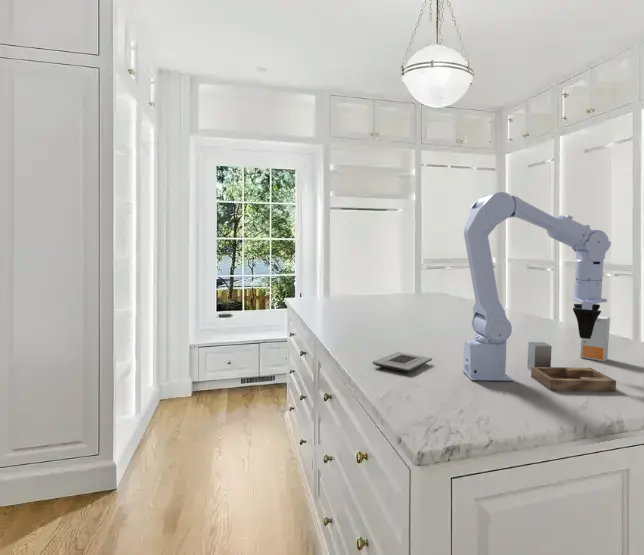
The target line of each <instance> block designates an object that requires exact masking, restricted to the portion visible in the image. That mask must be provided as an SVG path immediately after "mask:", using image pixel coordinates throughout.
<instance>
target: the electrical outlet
mask: <svg viewBox="0 0 644 555" xmlns="http://www.w3.org/2000/svg"><path fill="white" fill-rule="evenodd" d="M432 360H433V357H427V356H422V355H417V354H410V353H405V352H402V351H401V352H400V351H397V352H395V353H392V354H389V355H387V356H386V355H385V357H382V358H379V359H376V360H374V361H372V364H373V365H375V366H376V367H382V368H386V369H391V370H395V371H400V372H405V373H409V372H410V371H413V370H414V369H416V368H419V367H421V366H423V365H425V364H427V363H430V362H431V361H432Z"/></svg>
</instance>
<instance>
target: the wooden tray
mask: <svg viewBox="0 0 644 555" xmlns="http://www.w3.org/2000/svg"><path fill="white" fill-rule="evenodd" d="M530 377H531V378H532V379H534V380H535V381H536V380H537V382H538V383H539V384H540V383H541V384H540V385H542V386H543V385H544V386H543V387H544V388H546V387H547V388H548V390H549V391H550V390H559V391H558V392H564V391H563V390H583V391H582V392H616V389H617V380H615V379H614V378H611V377H609V376H607V375H605V373H602V372H600V371H597V370H596V369H594V368H592V367H568V366H566V367H561V366H560V367H557V366H556V367H553V366H551V367H531V371H530ZM547 388H546V389H547Z"/></svg>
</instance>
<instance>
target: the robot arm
mask: <svg viewBox="0 0 644 555" xmlns="http://www.w3.org/2000/svg"><path fill="white" fill-rule="evenodd" d="M508 218H516V219H519V220H522V221H525V222H527V223H529V224H533V225H535V226H537V227H540V228H542V229H544V230H546V233H547V236H548V237H549V238H551V239H553V240H555V241H558V242H560V243H562V244H564V245H566V246H568V247H570V248H571V249H572V250H573V252H574V253H575V272H574V283H573V285H574V287H573V288H574V289H573V297H572V301H574V302H576V303H573V308H572V311H573V313H574V315H575V317H576V321H577V327H578V334H579V338H580V339H581V338H586V339H590V338H591V336H592V332H593V328H594V324H595V322H596V319H597V318H598V316H601V313H602V310H599V309H600V308H601V305H600V304H601V303H607V302H608V299H607V298H603V297H602V292H603V291H602V290H603V289H602V288H603V278H604V277H603V275H604V274H603V273H604V261H605V258H606V253H607V252H608V251H609V250H610V248H611V246H612V242H611V241H610V240H609V237H608V235H607V233H606V232H604V231H603V230H601V229H600V230H599V229H591V226H590V225H589V224H585V223H584V224H582V223H580V222H578V221H576V220H574V217H573V216H571V215H570V214H568V215H566V214H565V215H561V214H560V215H558V216H556V217H555V216H552V215H550V214H549V213H548V212H546V211H543V210H542V209H539V208H538V207H536V206H534V205H533V204H530V203H528V202H526V201H525V200H523V199H521V198H520V197H518V196H515V195H511V194H509V193H507V192H504V191H499V192H495V193H493V194H489V195H483V196H481V197H479V198H477V200H476V201H475V202H474V203H473V204H472V205H471V206H470V209H469V215H468V218H467V220H466V224H465V226H464V228H463V236H464V243H465V248H466V253H467V259H468V266H469V271H470V276H471V284H472V287H473V294H474V299H475V303H474V305H473V307H472V310H473V312H472V313H473V316H472V319H471V327H472V329H473V331H474V332H475V335H474V339H471V340H470V339H469V340H466V341H465V342H464V346H463V369H462V371H463V373H464V374H465V375H466V376H467V377H468V378H469V379H470V380H471V381H501V382H502V381H503V382H505V381H507V382H511V381H513V380H512V377H510V376H509V375H508V374H506V370H507V369H506V368H507V366H506V365H507V364H506V363H507V340H508V339H509V338H510V336H511V335H512V333H513V332H512V330H513V329H512V328H513V326H512V323H511V322H510V320H509V319H508V318H507V316H506V315H507V314H506V311H505V309H504V306H503V305H502V304H501V302H500V298H499V293H498V286H497V282H496V276H495V275H496V274H495V270H494V264H493V259H492V252H491V246H490V240H489V235H490V234H491V233H492V231H494V229H496V227H497V225H499V224H501V223H502V222H504V221H505V220H507V219H508Z"/></svg>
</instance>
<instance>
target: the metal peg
mask: <svg viewBox="0 0 644 555" xmlns="http://www.w3.org/2000/svg"><path fill="white" fill-rule="evenodd" d="M526 366H527V370H528V371H530V372H531V367H552V345H551V344H549V343H546V342H541V341H536V342H535V341H531V342H530V341H528V344H527V365H526Z"/></svg>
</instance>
